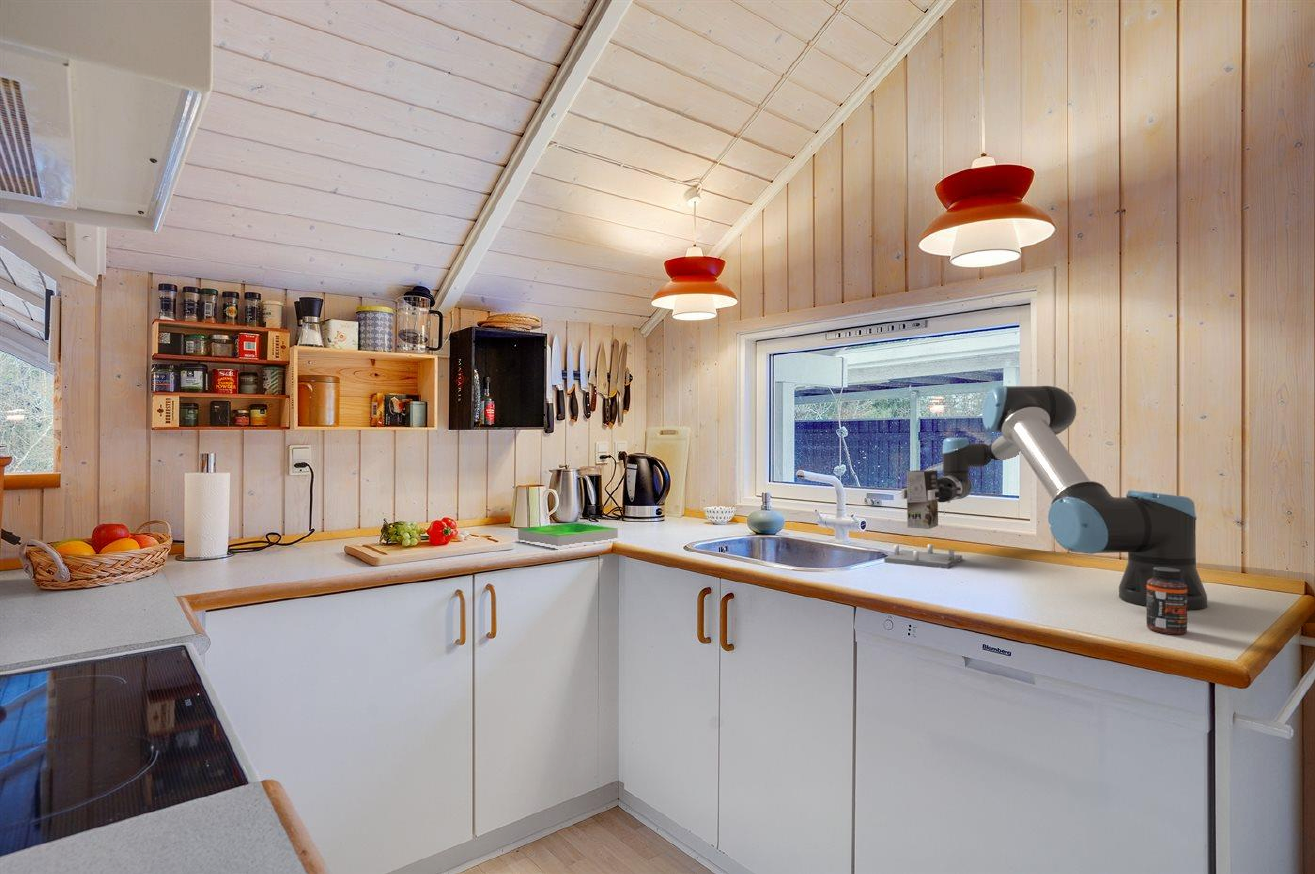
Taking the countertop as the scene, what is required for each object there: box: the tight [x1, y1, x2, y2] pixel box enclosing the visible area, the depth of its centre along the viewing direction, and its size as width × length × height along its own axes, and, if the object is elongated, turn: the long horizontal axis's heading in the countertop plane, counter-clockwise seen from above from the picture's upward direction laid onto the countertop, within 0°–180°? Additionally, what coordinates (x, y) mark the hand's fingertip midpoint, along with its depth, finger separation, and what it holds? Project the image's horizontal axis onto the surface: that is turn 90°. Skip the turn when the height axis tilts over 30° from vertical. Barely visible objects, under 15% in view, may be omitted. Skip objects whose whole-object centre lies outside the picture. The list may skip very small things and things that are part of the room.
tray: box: [517, 522, 619, 546], centre depth 240 cm, size 25×25×5 cm
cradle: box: [884, 543, 963, 569], centre depth 195 cm, size 16×17×4 cm
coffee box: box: [906, 469, 939, 530], centre depth 195 cm, size 9×6×16 cm
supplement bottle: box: [1146, 567, 1189, 636], centre depth 124 cm, size 6×6×11 cm
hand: (915, 494), depth 191 cm, fingers closed on coffee box, 7 cm apart
